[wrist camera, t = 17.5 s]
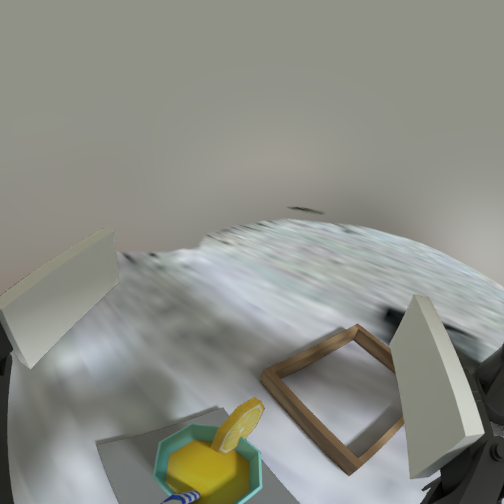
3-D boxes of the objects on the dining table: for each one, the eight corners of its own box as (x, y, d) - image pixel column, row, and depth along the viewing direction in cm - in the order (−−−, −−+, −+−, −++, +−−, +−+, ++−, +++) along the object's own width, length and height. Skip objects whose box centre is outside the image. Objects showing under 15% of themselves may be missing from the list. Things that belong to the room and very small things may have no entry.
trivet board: (222, 411, 30) (222, 407, 30) (325, 533, 16) (328, 532, 15) (99, 448, 22) (96, 445, 21) (183, 599, 7) (182, 600, 7)
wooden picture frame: (352, 334, 46) (357, 323, 45) (428, 394, 33) (436, 384, 32) (260, 381, 35) (263, 369, 34) (349, 476, 22) (358, 468, 21)
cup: (211, 568, 11) (213, 585, 5) (135, 531, 13) (70, 502, 7) (266, 465, 23) (305, 390, 17) (200, 439, 25) (198, 351, 19)
